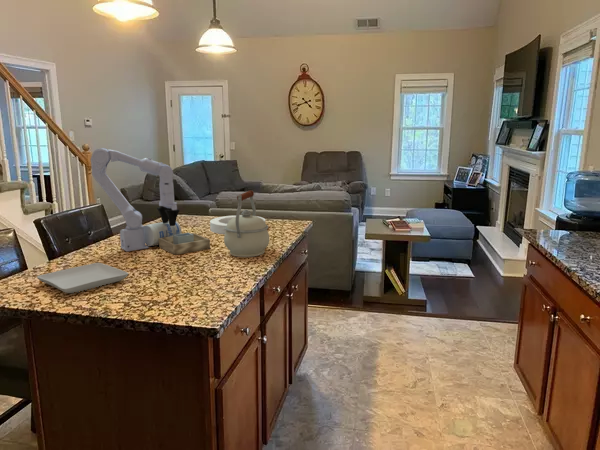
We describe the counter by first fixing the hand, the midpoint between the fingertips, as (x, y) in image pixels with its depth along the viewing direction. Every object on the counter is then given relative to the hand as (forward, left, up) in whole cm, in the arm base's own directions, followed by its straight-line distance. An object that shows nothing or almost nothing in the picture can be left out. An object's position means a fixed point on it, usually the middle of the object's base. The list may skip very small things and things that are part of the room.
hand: (168, 224), depth 193 cm
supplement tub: (+6, +7, -5) cm, 11 cm away
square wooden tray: (+3, -8, -9) cm, 13 cm away
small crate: (+3, -8, -9) cm, 12 cm away
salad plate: (-42, -29, -10) cm, 52 cm away
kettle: (+21, -31, -10) cm, 38 cm away
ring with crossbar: (+41, +11, -10) cm, 44 cm away
